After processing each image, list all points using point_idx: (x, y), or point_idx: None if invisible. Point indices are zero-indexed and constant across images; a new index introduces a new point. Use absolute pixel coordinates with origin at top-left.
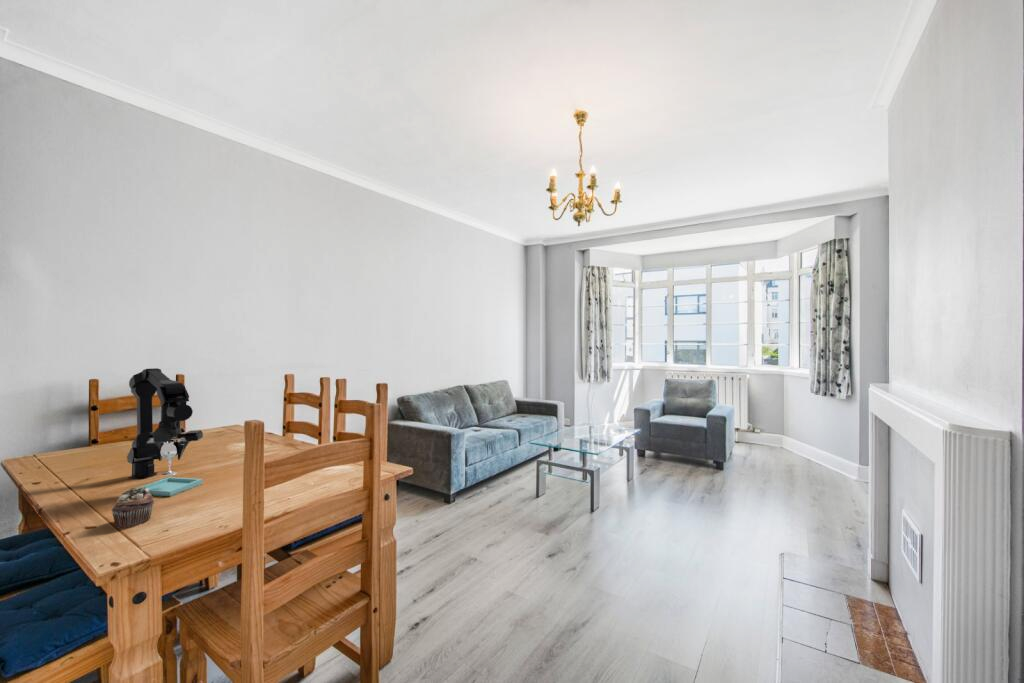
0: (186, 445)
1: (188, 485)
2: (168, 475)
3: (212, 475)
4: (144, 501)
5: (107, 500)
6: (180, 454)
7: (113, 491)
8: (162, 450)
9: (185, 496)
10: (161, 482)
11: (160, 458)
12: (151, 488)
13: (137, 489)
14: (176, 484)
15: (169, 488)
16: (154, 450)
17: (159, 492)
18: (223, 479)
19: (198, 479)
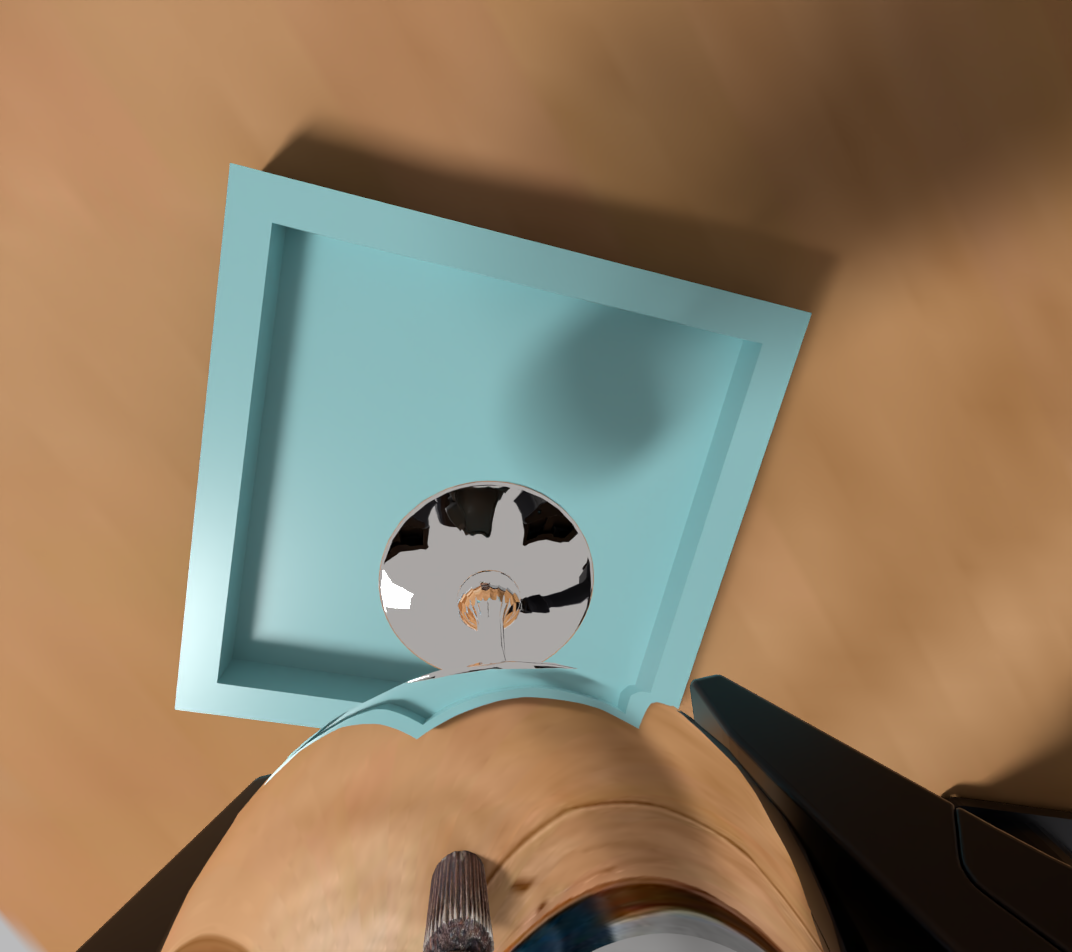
0: None
1: (202, 486)
2: (440, 491)
3: None
4: None
5: (962, 103)
6: (135, 904)
7: (1042, 435)
8: (655, 831)
9: (50, 184)
10: (657, 637)
11: (708, 717)
12: (668, 468)
13: (759, 304)
14: None
15: (448, 459)
16: (1067, 867)
17: (416, 211)
18: (60, 817)
19: (220, 693)
